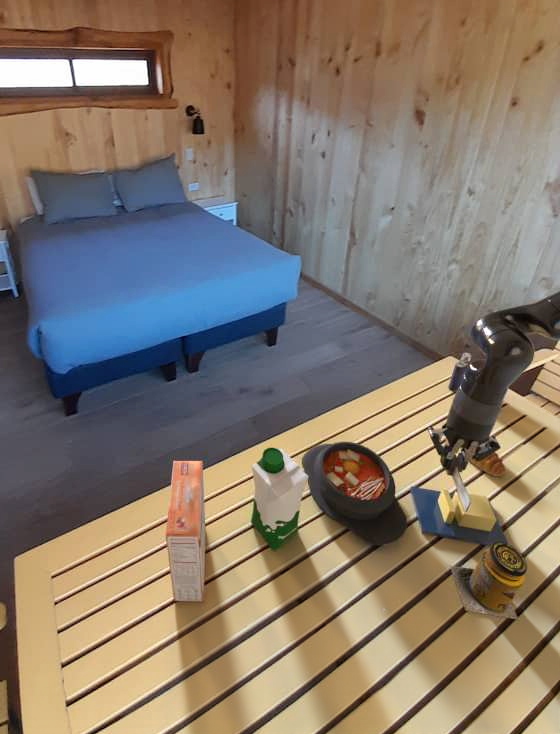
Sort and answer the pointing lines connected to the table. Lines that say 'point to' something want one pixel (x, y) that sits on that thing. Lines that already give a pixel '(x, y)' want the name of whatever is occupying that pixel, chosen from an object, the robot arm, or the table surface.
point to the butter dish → (446, 529)
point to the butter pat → (446, 506)
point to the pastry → (491, 464)
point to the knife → (459, 482)
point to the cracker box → (187, 531)
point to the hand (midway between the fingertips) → (451, 467)
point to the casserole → (355, 491)
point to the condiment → (492, 581)
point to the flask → (459, 371)
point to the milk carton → (277, 496)
